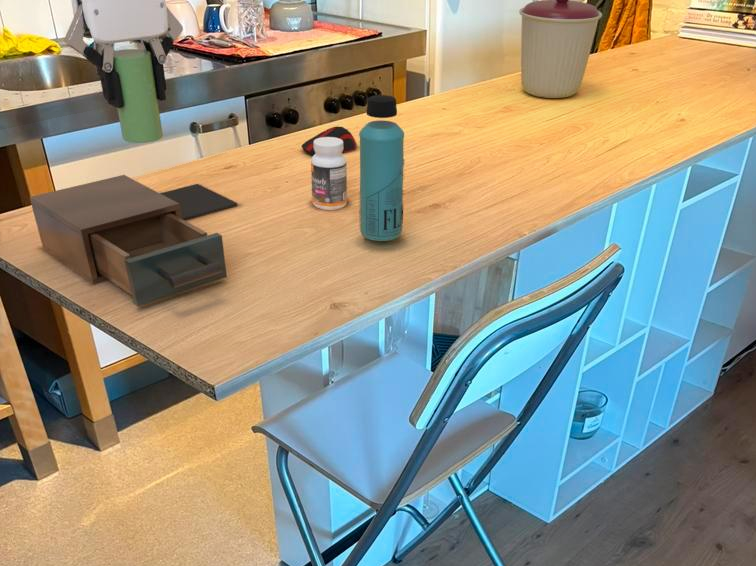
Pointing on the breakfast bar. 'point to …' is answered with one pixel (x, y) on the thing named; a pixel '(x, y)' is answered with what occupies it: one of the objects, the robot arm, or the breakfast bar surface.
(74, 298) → the breakfast bar surface
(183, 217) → the mat
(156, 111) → the green can
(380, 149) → the beverage bottle
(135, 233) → the drawer
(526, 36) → the canister
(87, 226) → the cabinet
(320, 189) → the pill bottle
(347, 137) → the computer mouse
